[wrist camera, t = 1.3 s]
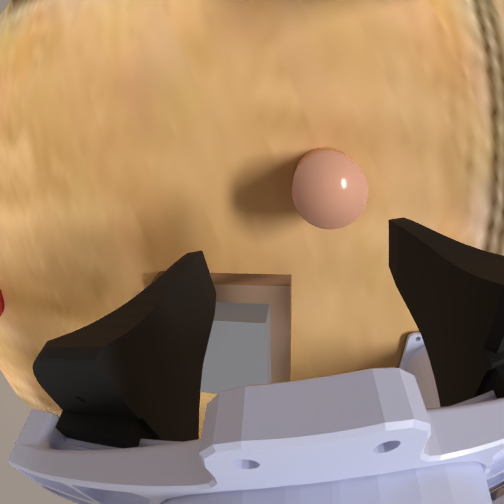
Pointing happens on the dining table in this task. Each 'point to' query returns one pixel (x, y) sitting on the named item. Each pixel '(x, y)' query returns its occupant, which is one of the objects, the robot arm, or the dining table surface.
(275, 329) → the base slab
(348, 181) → the egg
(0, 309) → the canned food
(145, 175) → the dining table surface
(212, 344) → the top slab
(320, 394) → the robot arm
